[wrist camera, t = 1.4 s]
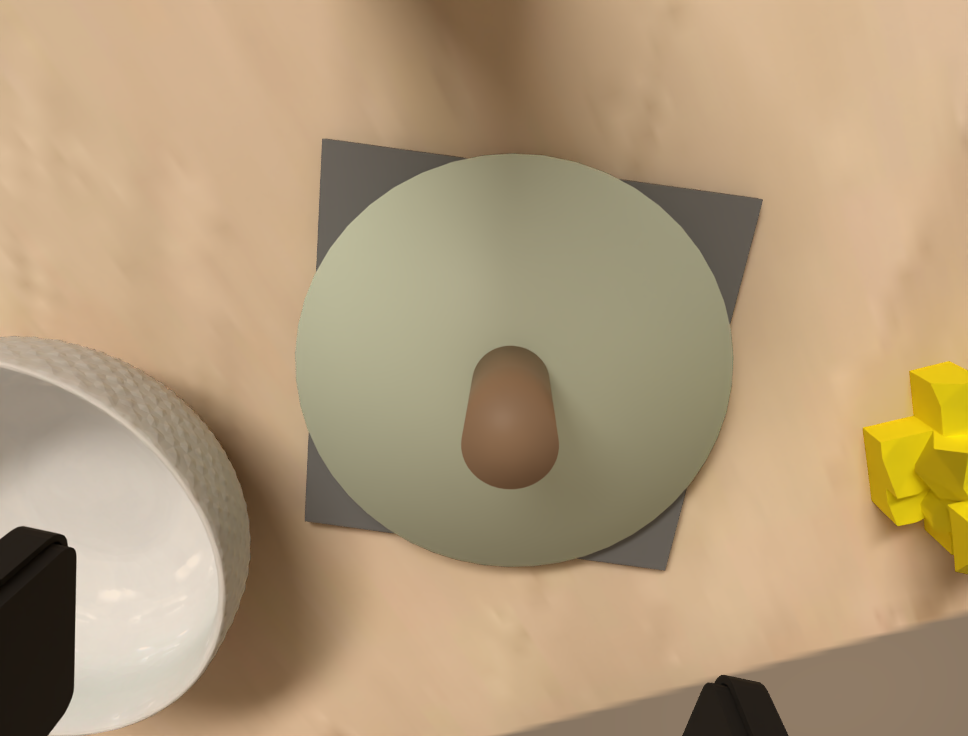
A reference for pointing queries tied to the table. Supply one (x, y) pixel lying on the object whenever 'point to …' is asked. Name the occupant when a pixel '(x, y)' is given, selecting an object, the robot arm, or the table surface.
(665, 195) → the mat
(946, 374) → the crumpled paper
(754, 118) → the table surface
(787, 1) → the table surface
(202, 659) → the cereal bowl
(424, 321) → the lid
